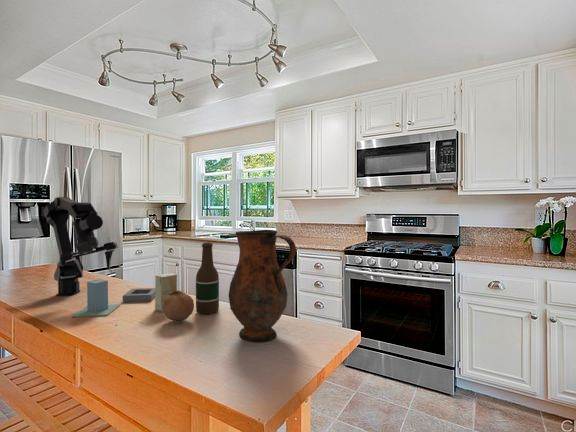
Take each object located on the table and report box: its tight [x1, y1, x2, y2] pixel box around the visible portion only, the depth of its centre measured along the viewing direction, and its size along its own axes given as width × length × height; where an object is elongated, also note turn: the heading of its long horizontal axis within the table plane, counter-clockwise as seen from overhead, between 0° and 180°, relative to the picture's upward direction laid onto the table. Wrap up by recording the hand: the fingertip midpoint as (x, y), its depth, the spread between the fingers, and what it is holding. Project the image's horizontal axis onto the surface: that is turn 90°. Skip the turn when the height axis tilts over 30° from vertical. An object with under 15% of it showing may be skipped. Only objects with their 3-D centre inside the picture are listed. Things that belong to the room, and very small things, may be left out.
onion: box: [162, 290, 195, 323], centre depth 101 cm, size 10×9×10 cm
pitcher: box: [228, 229, 297, 343], centre depth 89 cm, size 17×21×30 cm
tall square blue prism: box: [86, 278, 109, 313], centre depth 111 cm, size 4×4×10 cm
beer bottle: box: [195, 242, 220, 316], centre depth 111 cm, size 8×8×24 cm
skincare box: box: [154, 272, 178, 312], centre depth 114 cm, size 6×4×12 cm
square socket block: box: [122, 287, 155, 303], centre depth 127 cm, size 10×10×2 cm
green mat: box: [71, 303, 121, 318], centre depth 111 cm, size 11×11×1 cm
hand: (95, 273), depth 123 cm, fingers open, 9 cm apart
